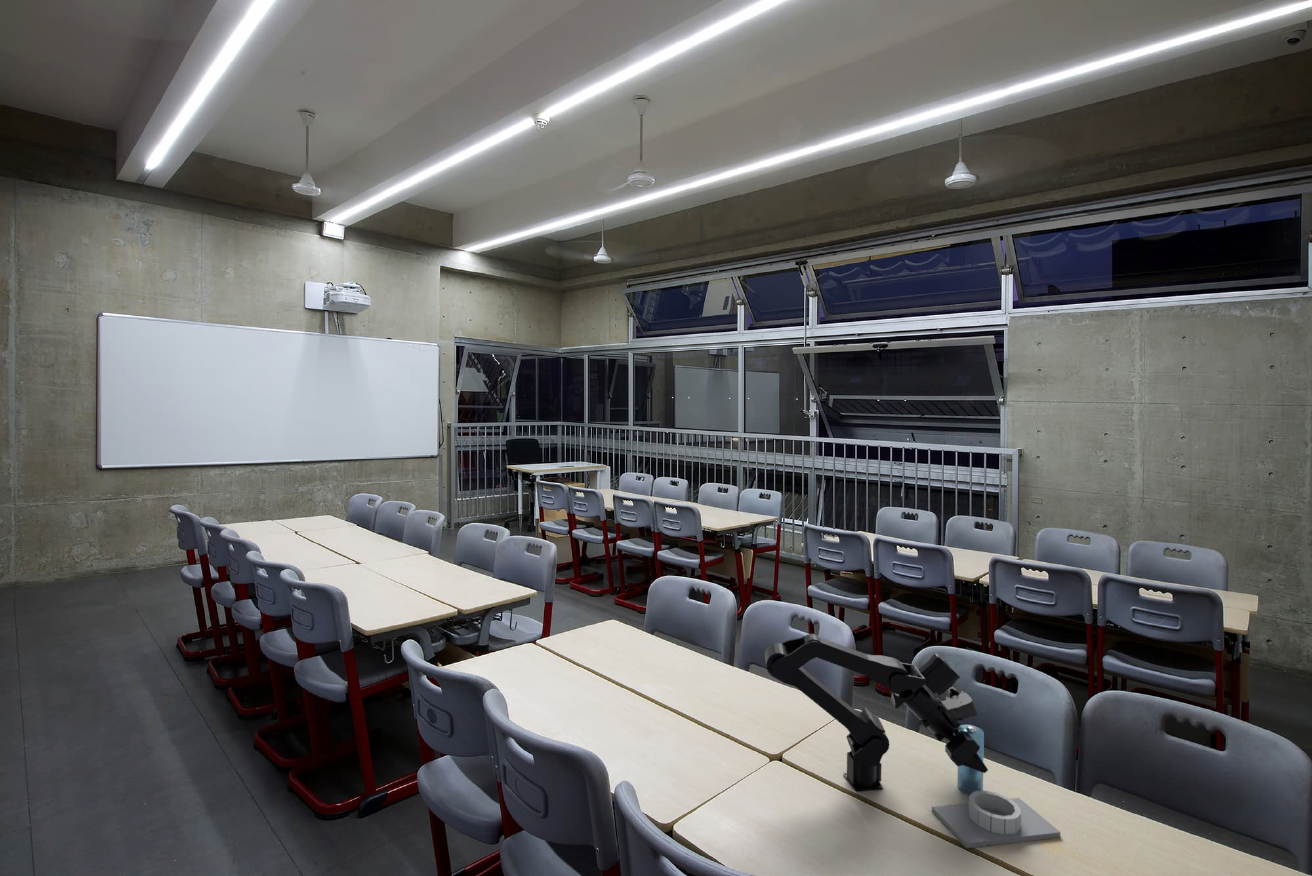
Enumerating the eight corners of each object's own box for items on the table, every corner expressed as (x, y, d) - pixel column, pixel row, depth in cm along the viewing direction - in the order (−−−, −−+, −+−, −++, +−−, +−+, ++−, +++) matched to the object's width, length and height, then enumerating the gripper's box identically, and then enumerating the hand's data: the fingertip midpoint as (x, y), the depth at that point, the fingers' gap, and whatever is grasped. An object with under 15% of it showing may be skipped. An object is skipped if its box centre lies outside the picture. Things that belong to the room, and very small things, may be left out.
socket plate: (966, 848, 117) (967, 827, 117) (931, 811, 128) (932, 792, 128) (1060, 837, 120) (1060, 817, 120) (1018, 802, 131) (1019, 783, 131)
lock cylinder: (962, 794, 133) (963, 732, 133) (953, 781, 138) (954, 721, 138) (986, 796, 133) (988, 734, 132) (977, 782, 138) (978, 722, 137)
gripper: (970, 702, 126) (1026, 758, 125) (938, 665, 145) (986, 714, 144) (929, 738, 127) (984, 794, 126) (902, 697, 146) (950, 745, 145)
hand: (977, 759), depth 135 cm, fingers open, 9 cm apart
